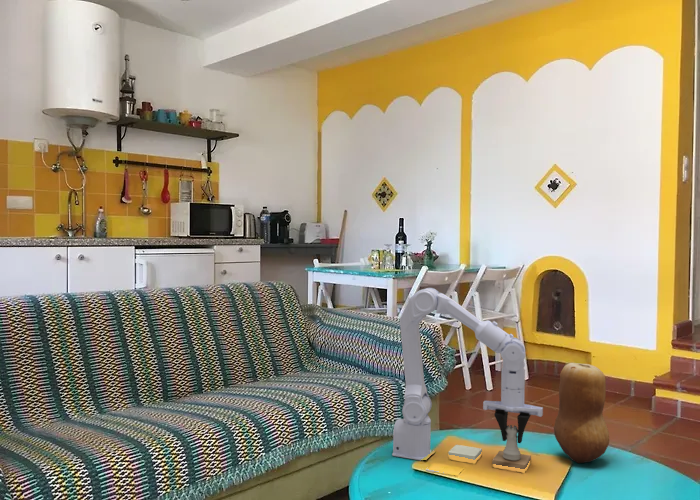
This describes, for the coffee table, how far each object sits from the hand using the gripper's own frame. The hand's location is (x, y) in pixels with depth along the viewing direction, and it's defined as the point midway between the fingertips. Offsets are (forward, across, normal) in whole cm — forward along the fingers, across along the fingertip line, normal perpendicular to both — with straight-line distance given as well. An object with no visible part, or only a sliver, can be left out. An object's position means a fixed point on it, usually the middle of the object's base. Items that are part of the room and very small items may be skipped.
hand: (512, 441), depth 155 cm
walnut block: (+6, 0, 0) cm, 6 cm away
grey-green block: (+6, -12, 0) cm, 14 cm away
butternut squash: (+6, +15, +13) cm, 21 cm away
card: (+6, -14, -11) cm, 19 cm away
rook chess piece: (+4, 0, 0) cm, 4 cm away
